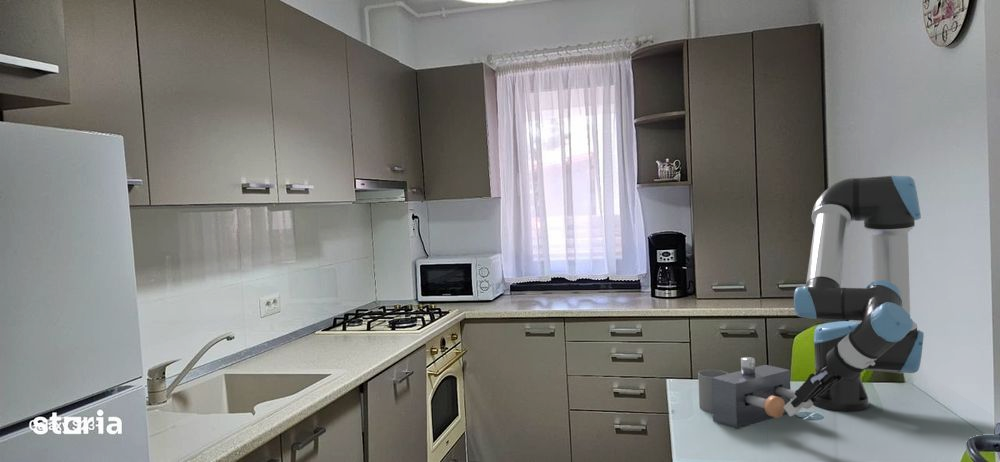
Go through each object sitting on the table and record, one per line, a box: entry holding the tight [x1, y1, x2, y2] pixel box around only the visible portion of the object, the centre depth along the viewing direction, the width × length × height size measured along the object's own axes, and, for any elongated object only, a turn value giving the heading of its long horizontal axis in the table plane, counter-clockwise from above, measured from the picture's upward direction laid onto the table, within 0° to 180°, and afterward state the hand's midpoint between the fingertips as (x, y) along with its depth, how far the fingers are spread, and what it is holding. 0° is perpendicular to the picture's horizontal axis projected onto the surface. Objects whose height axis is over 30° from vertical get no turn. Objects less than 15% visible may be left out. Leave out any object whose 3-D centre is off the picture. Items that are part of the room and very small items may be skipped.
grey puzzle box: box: [712, 364, 792, 430], centre depth 179 cm, size 8×22×12 cm, turn 120°
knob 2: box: [775, 386, 814, 410], centre depth 175 cm, size 10×5×5 cm, turn 30°
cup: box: [697, 369, 729, 413], centre depth 189 cm, size 8×8×10 cm
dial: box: [740, 356, 756, 375], centre depth 180 cm, size 4×4×4 cm
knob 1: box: [745, 394, 785, 419], centre depth 169 cm, size 10×5×5 cm, turn 30°
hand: (788, 411), depth 162 cm, fingers closed
